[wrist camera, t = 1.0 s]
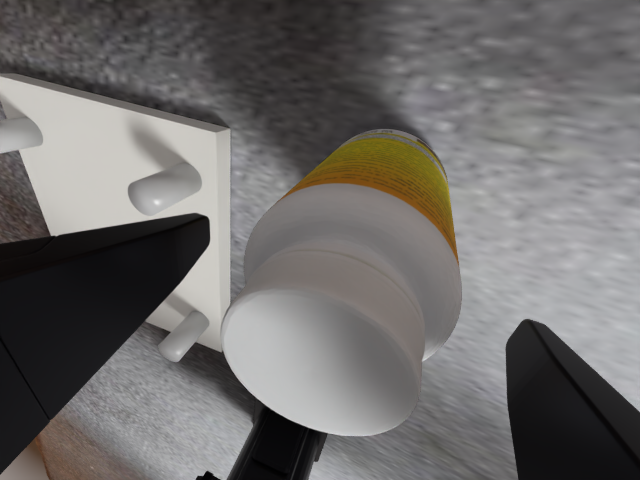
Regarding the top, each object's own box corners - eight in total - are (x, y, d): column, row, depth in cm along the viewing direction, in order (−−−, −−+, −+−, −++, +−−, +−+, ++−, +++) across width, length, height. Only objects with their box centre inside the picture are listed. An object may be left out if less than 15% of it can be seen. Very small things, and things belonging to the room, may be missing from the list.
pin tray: (230, 340, 23) (195, 387, 20) (85, 282, 26) (32, 316, 23) (230, 128, 15) (169, 146, 12) (15, 73, 17) (-88, 74, 14)
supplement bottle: (320, 130, 14) (139, 232, 5) (453, 121, 12) (508, 254, 3) (330, 239, 16) (221, 425, 8) (441, 245, 15) (457, 494, 6)
